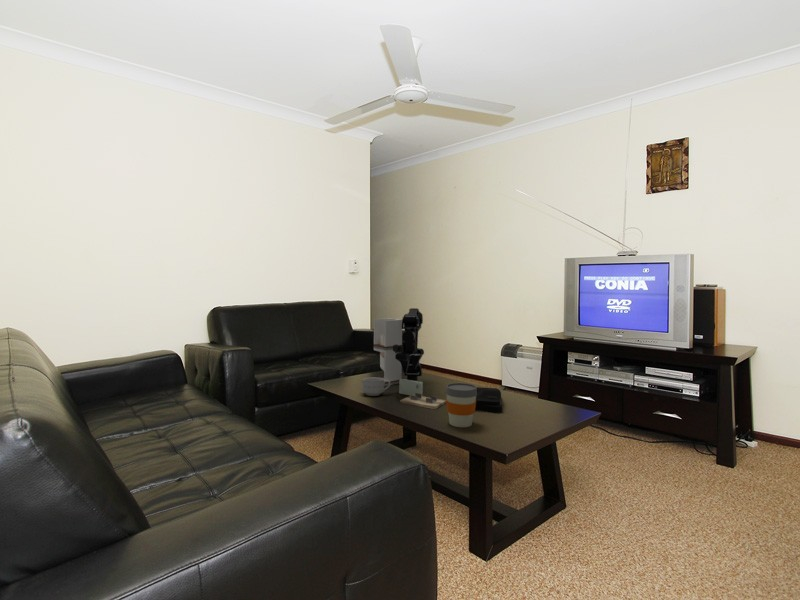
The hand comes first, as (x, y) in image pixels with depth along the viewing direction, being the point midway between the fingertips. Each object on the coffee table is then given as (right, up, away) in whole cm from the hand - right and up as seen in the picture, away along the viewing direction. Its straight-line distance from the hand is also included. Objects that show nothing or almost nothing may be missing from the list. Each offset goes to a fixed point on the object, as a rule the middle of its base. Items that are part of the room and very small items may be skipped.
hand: (409, 371), depth 217 cm
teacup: (-17, -12, 0) cm, 20 cm away
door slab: (+1, -12, +1) cm, 12 cm away
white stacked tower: (-12, -11, +25) cm, 29 cm away
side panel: (+6, -13, -13) cm, 19 cm away
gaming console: (+33, -14, -13) cm, 37 cm away
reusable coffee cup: (+20, -15, -41) cm, 48 cm away
